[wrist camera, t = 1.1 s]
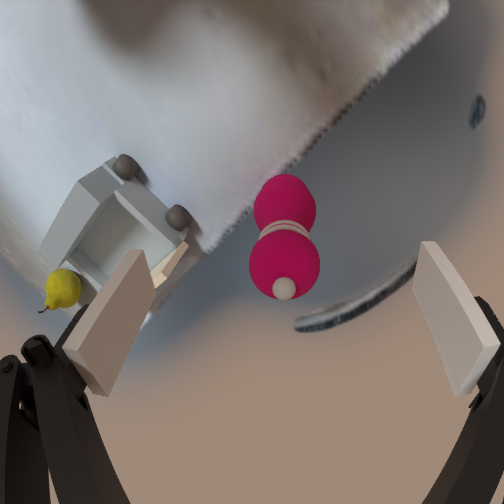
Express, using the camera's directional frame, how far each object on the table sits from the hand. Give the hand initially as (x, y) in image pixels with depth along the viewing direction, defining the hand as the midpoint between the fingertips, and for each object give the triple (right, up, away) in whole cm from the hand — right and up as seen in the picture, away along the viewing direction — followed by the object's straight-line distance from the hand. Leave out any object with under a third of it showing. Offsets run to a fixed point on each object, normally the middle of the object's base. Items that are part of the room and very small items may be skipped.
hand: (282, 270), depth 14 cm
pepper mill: (+3, +8, +26) cm, 27 cm away
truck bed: (-21, +5, +30) cm, 37 cm away
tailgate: (-16, -2, +30) cm, 34 cm away
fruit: (-34, -4, +37) cm, 51 cm away
